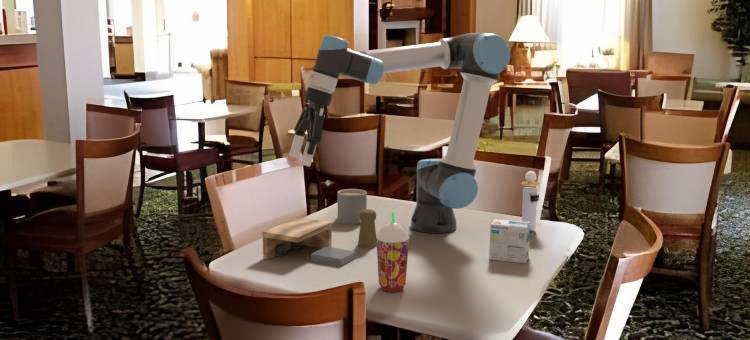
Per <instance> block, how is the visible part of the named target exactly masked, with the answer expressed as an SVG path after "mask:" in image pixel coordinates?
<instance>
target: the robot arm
mask: <svg viewBox="0 0 750 340" xmlns="http://www.w3.org/2000/svg"><path fill="white" fill-rule="evenodd" d="M510 60H511V48H510V46H509V44H508V42H507V41H506V40H505V39H504V37H503V36H500V35H499V34H496V33H493V32H469V33H468V32H467V33H465V34H459V35H455V36H452V37H445V38H443V37H442V38H440V39H439V40H438V41H437V42H429V43H421V44H414V45H404V46H395V47H386V48H378V49H371V50H370V49H369V50H364V51H355V50H353V49H351V48H349V41H348V40H347V39H343V38H341V37H338V36H334V35H331V34H325V35H324V36H323V37H322V40H321V43H320V46H319V47H318V52H317V55H316V59H315V62H314V65H313V69H312V72H311V73H310V74H309V76H308V77H309V79H310V80H309V82H308V85H309V86H310V87H309V86H308V87H307V88H306V91H305V95H304V100H306V101H308V102H305V104H304V106H303V109H302V112H301V114H300V116H299V118H298V120H297V123H296V124H295V127H294V128H293V131H294V137H293V140H292V143H291V147H290V149H289V153H288V156H289V157H292V158H296V159H299V156H300V152H301V149H302V147H303V143H304V139H305V137H307V134H306V132H307V130H308V129H309V132H308V133H309V134H308V138H307V139H306V140H305V141H306V144H305V147H304V151H303V154H302V157H301V161H300V165H302V166H306V167H309V168H310V167H311V164H312V161H313V159H314V158H313V157H314V155H315V152H316V148H317V145H318V144H320V143H321V142H322V135H323V129H324V121H325V117H326V113H327V109H325V108H323V107H329V106H331V103H332V99H333V94H332V93H334V92H335V91H336V88H337V87H336V86H337V84H338V80H339V76H341V77H342V78H344V79H345V78H348V79H353V80H357V81H360V82H363V83H366V84H370V85H377V84H378V83H379V82H380V81H381V79H382V77H383V74H388V73H397V72H405V71H413V70H415V71H416V70H421V69H423V70H424V69H429V68H438V67H441V68H442V69H443V70H447V69H459V70H460V75H461V76H462V78H463V82H462V87H461V91H460V94H459V99H458V103H457V107H456V111H455V116H454V120H453V121H454V122H453V125H452V130H451V133H450V138H449V141H448V147H447V151H446V154H445V156H444V157H442V158H426V159H420V160H419V161H418V162H417V165H416V202H415V203H416V204H415V207H414V211H413V213H412V215H411V216H412V217H411V219H410V228H411V229H413V231H417V232H420V233H427V234H428V233H429V234H445V233H450V232H453V231H456V229H457V217H456V215H455V212H454V210H455V209H457V210H459V209H464V208H467V207H468V206H469V205H471V204H472V203H473V201H475V199H476V197H477V195H478V191H479V184H478V182H477V180H476V174H477V167H476V164H475V163H474V159H475V155H476V151H477V147H478V144H479V139H480V135H481V134H480V133H481V131H482V126H483V121H484V117H485V114H486V109H487V106H488V102H489V101H488V100H489V98H490V97H489V96H490V94H491V90H492V87H493V85H495V84H496V83H498V80H499V79H500V78H499V77H500V73H501V72H503V71H504V70H505V69H506V68H507V67H508V65H509V63H510Z"/></svg>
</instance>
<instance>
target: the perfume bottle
mask: <svg viewBox="0 0 750 340" xmlns="http://www.w3.org/2000/svg"><path fill="white" fill-rule="evenodd" d="M524 175H525V177H524V178H525V180H523V181H521V185H522V186H524V187H523V189H522V204H521V205H522V206H521V208H522V209H521V210H522V211H521V221H523V222H530V232H531V231H535V230H536V226H537V224H536V223H537V204H538V201H540V200H539V199H540V194H538V188H536V187H539V186H540V184H541V183H540V182H539V181H536V180H537V173H536V172H535V171H534V170H533V171H532V170H529V171H527V172H526V173H525V174H524Z"/></svg>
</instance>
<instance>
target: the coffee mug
mask: <svg viewBox="0 0 750 340" xmlns="http://www.w3.org/2000/svg"><path fill="white" fill-rule="evenodd" d="M367 193H368V192H367V191H366V190H364V189H359V188H358V189H357V188H347V189H346V188H345V189H340V190H338V191H337V222H338V223H341V224H343V225H344V224H345V225H360V224H361V220H360V218H359V214H360V211H362V210H365V209H368V208H367V205H368V204H367V201H368V200H367V195H368V194H367Z"/></svg>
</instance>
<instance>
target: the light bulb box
mask: <svg viewBox="0 0 750 340" xmlns="http://www.w3.org/2000/svg"><path fill="white" fill-rule="evenodd" d="M489 227H490V228H489V255H488V256H489V258H488V260H490V261H491V260H492V261H500V262H510V263H519V264H526V263H527V261H528V260H529V256H530V238H531V237H530V236H531V235H530V234H531V233H530V232H531V231H530V222H523V221H522V220H509V219H508V220H507V219H497V218H494V219H493V221H492V222H491V223H490V226H489Z"/></svg>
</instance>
